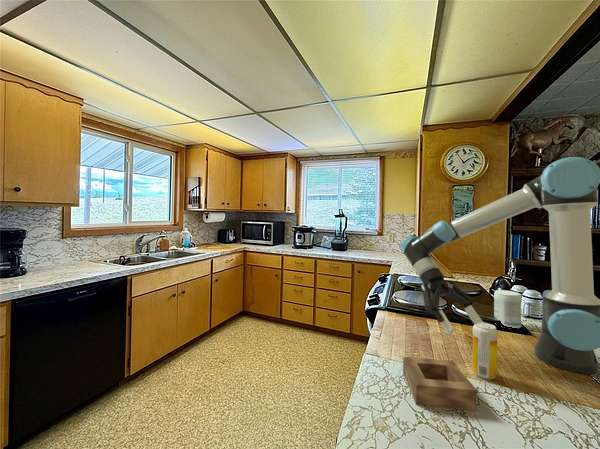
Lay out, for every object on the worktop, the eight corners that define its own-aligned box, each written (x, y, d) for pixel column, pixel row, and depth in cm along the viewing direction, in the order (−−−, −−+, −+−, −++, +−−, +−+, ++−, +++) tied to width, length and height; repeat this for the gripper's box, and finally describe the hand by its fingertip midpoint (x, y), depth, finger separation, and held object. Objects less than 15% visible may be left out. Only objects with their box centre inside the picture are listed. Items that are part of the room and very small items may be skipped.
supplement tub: (524, 326, 118) (525, 293, 118) (516, 331, 113) (516, 296, 113) (498, 319, 127) (499, 288, 126) (489, 323, 121) (490, 291, 121)
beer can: (495, 373, 82) (496, 324, 82) (497, 383, 77) (498, 331, 76) (471, 367, 85) (472, 320, 85) (472, 376, 80) (473, 326, 80)
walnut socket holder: (452, 377, 79) (452, 360, 79) (476, 410, 66) (476, 390, 65) (403, 373, 81) (403, 356, 81) (416, 404, 68) (416, 384, 67)
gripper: (446, 276, 106) (483, 328, 93) (396, 280, 97) (429, 339, 84) (459, 264, 101) (500, 318, 88) (407, 268, 92) (444, 328, 79)
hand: (465, 328), depth 86 cm, fingers open, 13 cm apart
